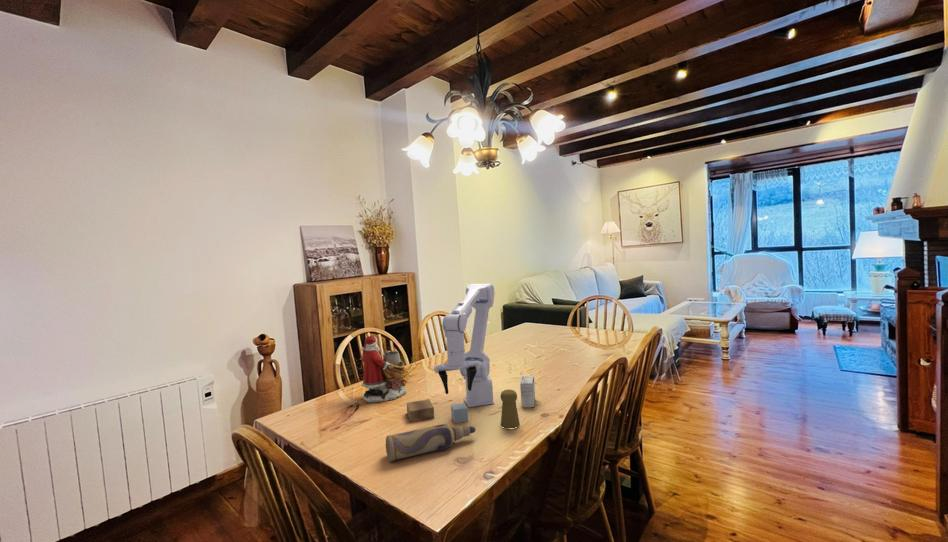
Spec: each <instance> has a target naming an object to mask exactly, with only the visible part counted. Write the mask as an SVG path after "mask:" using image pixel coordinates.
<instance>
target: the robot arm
mask: <svg viewBox="0 0 948 542" xmlns="http://www.w3.org/2000/svg"><path fill="white" fill-rule="evenodd" d="M495 293H496V292H495V288H494V285H493V284H492V283H468V284H467V286H466V287H465V297H464V298H463V300H460V301H458V303H457V304H456V305H455V306H454V308H453V310H451V312H450V313H448V314H446V315H444V316H443V318H442V319H443V320H442V324H441V325H442V327H441V328H442V330H443V333H444V337H445V338H446V351H447V356H446V357H447V362H446V363H442V364H438V365H433V366H434V373H435V374H438V375H439V378H440V379H441V382H442V385H443V388H444V393H445V394H446V395H449V386H448V385H449V384H448V381H449V380H448V374H447V373H448V372H452V371H458V370H459V373H460V376H461V377H463V380H465V393H466V394H465V396H466V397H464V398H463V401H464V403H465V405H466V407H467V408H473V407H479V406H480V407H481V406H486V405H492V404H494V403H495V402H494V389H493V382H492V381H493V380H492V378H491V377H490V376H489V375H490V371H491V368H490V361H491V360H490V357H489V355H487V354H486V353H485V352H484V348H485V347H484V346H485V339H486V335H487V334H486V332H487V325H488V318H489V312H490V311H489V310H490V309H491V308H493V306H494V301H495ZM473 308H474V310H475V314H474V318H473V319H474V321H473V327H472V335H471V339H470V340H471V342H470V349H469V350H468V351H467V352H466V351H465V347H466V346H465V335H464V334H465V331H466V329H467V323H468V319H469V317H470V316H471V314H472V312H473Z"/></svg>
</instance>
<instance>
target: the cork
mask: <svg viewBox="0 0 948 542" xmlns="http://www.w3.org/2000/svg"><path fill="white" fill-rule="evenodd" d="M500 399H501V401H502V404H501V405H502V406H501V417H500V427H501V426H502V427H504V428H515V427H518V426H519V425H520V424H521V423H520V419H519V412H518V408H517V399H518V394H517V392H516V391H515V390H514V389H504V390H502V391H501V392H500ZM520 426H521V425H520ZM520 426H519V427H520ZM502 427H501V428H502ZM519 427H518V428H519ZM504 428H503V429H504Z"/></svg>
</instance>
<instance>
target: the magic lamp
mask: <svg viewBox="0 0 948 542" xmlns="http://www.w3.org/2000/svg"><path fill="white" fill-rule="evenodd" d="M410 359H411V362H410V365H409V367H408V368H404V369H403V371H404V372H403V374H402V376H401V382H403V383H404V382H406V381H407V380H405V378H406V377H408V376H410V373H411V372H412V371H414V370H415V369H416V368H417V367H418V364H417V362H416V361H415V356H411V357H410ZM413 363H414V364H415V365H416V366H415V367H414V368H412V369H411V367H413V366H412V365H413ZM410 369H411V370H410ZM409 370H410V371H409ZM406 383H407V382H406ZM404 384H405V383H404Z"/></svg>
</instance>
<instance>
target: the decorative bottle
mask: <svg viewBox="0 0 948 542" xmlns="http://www.w3.org/2000/svg"><path fill="white" fill-rule="evenodd" d="M476 431H477V430H476V428H475V426H471V425H470V426H469V425H463V426H459V425H457V426H453V427H451V426H450V425H449V424H447V423H444V424H437V425H433V426H428V427H424V428H423V427H422V428H418V429H415V430H409V431H405V432H401V433H395V434H389V435H386V438H385V452H386V456H387V460H388V461H389V462H394V461H397V460H402V459H405V458H406V459H407V458H410V457H414V456H417V455H422V454H426V453H431V452H434V451H444V450H447V449H449V448H451V446H453V444H454V443H455V442H456V441H458V440H461V439H462V438H464V437H469V436H470V435H471V434H473V433H475V432H476ZM448 447H449V448H448ZM446 448H447V449H446Z"/></svg>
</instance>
